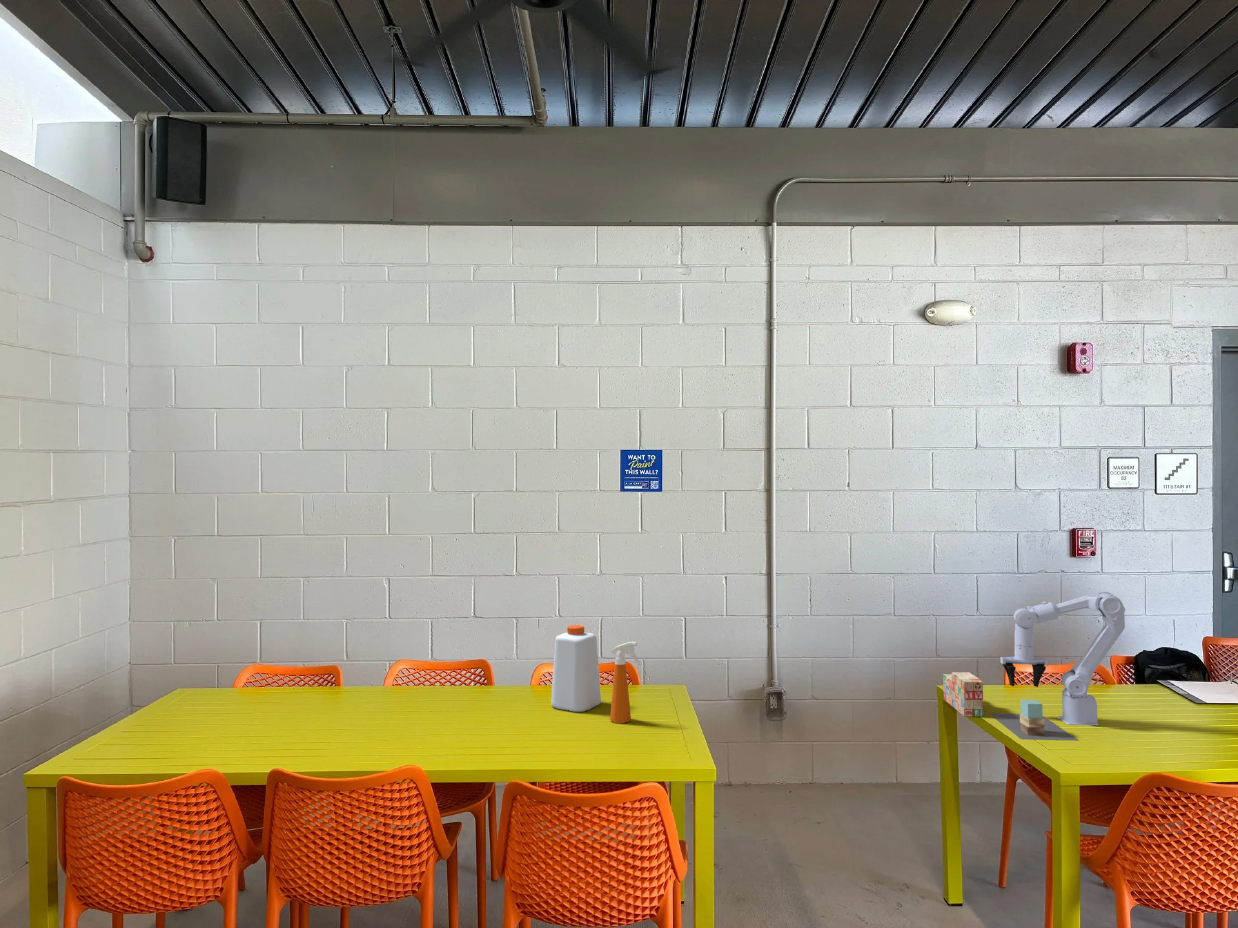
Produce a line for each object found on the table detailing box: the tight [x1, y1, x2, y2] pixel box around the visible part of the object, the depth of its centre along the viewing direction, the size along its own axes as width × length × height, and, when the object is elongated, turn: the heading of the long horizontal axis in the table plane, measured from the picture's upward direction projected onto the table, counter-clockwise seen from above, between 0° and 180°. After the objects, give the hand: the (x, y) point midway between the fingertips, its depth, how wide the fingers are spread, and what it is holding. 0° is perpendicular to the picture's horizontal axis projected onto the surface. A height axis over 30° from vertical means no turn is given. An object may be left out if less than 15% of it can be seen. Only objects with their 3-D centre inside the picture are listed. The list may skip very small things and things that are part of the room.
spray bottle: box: [609, 641, 642, 724], centre depth 260 cm, size 7×11×26 cm, turn 78°
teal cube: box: [1020, 699, 1044, 719], centre depth 245 cm, size 4×4×4 cm
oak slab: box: [1019, 713, 1045, 727], centre depth 245 cm, size 5×5×2 cm
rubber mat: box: [988, 712, 1080, 742], centre depth 251 cm, size 17×26×1 cm, turn 175°
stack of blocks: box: [942, 671, 984, 718], centre depth 272 cm, size 21×6×12 cm, turn 176°
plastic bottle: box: [550, 624, 602, 713], centre depth 278 cm, size 15×15×28 cm
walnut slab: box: [1021, 723, 1044, 735], centre depth 245 cm, size 5×5×2 cm
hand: (1023, 685), depth 262 cm, fingers open, 7 cm apart
